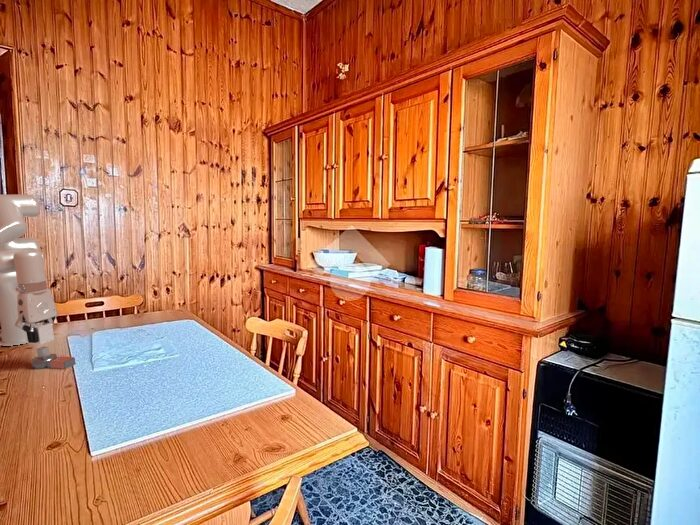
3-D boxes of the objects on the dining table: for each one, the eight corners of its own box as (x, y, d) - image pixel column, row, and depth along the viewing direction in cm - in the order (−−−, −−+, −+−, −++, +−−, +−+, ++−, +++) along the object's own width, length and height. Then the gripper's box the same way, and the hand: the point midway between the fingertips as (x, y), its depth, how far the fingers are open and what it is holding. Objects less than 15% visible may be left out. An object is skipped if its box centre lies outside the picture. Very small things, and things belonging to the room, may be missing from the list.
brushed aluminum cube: (28, 343, 135) (25, 326, 135) (42, 338, 140) (39, 322, 139) (40, 344, 134) (37, 327, 133) (54, 339, 139) (51, 322, 138)
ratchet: (79, 362, 140) (76, 345, 139) (61, 371, 133) (58, 352, 132) (46, 360, 143) (43, 343, 142) (27, 368, 136) (24, 351, 135)
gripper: (16, 293, 125) (25, 349, 128) (64, 282, 142) (72, 331, 145) (-3, 293, 127) (6, 348, 130) (47, 282, 144) (54, 331, 146)
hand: (41, 339), depth 137 cm, fingers closed on brushed aluminum cube, 5 cm apart
